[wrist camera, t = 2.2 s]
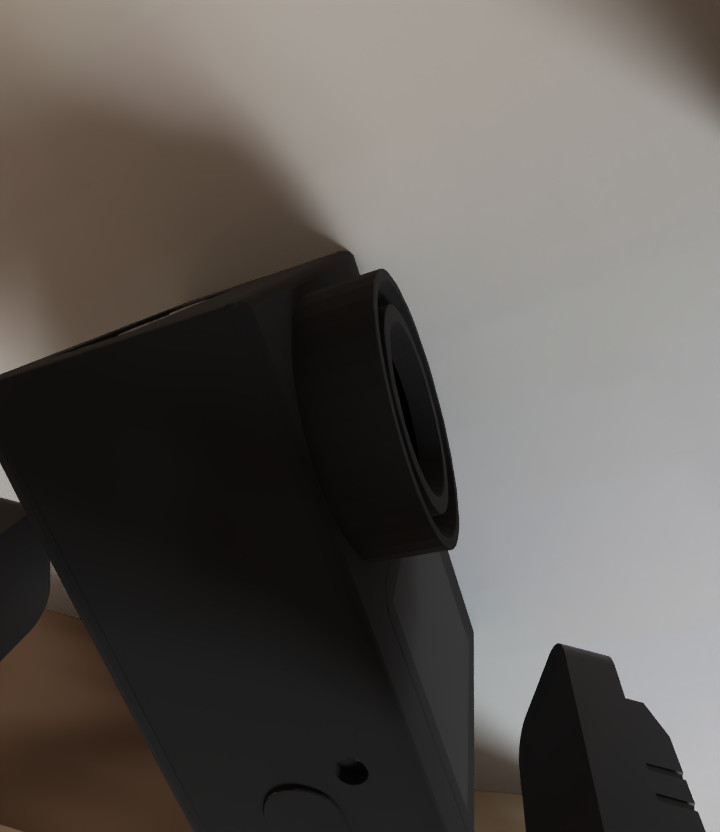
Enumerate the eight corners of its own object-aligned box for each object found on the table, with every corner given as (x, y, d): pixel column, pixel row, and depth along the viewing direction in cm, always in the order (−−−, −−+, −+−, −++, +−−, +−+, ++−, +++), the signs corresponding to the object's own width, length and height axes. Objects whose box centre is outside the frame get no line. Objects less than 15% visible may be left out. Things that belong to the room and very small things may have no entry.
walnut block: (288, 673, 18) (207, 889, 12) (254, 856, 21) (176, 1097, 15) (32, 601, 19) (-153, 775, 13) (33, 788, 22) (-118, 995, 16)
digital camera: (521, 630, 16) (554, 927, 10) (326, 660, 18) (241, 937, 11) (404, 228, 13) (338, 267, 7) (182, 303, 15) (-48, 393, 8)
